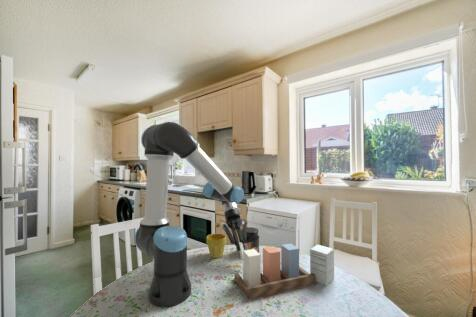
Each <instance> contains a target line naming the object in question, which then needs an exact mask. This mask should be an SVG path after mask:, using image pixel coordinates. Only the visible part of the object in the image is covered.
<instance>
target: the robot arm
mask: <svg viewBox="0 0 476 317" xmlns="http://www.w3.org/2000/svg"><path fill="white" fill-rule="evenodd" d="M140 140H141V144H142V145H141V146H142V147H143V149H144V154H143V155H144V156H145V158H146V159H147V170H146V171H147V173H146V186H145V187H146V189H145V198H144V199H145V201H144V202H145V204H144V217H143V218H142V219H141V220H140V221H139V227H138V228H137V230H136V231H135V234H134V244H135V245H136V247H137V249H138V250H139V251H141V253H143V254H145V255H147V256H148V257H149V258H151V259H152V260H153V276H152V278H151V283H150V286H149V287H148V288H149V289H148V301H149V303H150V304H152V305H153V306H155V307H161V308H164V307H167V308H168V307H173V306H176V305H179V304H181V303H183V302H184V301H186V300H187V299H188V298H189V296H191V293H192V282H191V279H190V276H189V274H188V270H187V265H188V263H187V262H188V261H187V260H188V256H187V255H188V254H187V252H188V248H187V247H188V234H187V232H186V231H185V229H183V227H180V226H173V225H170V224H171V223H170V222H171V221H170V219H169V218H168V217H167V208H168V207H167V206H168V193H169V192H168V191H169V189H168V188H169V177H170V175H169V173H170V161H171V160H172V159H173V158H174V154H176V155H177V156H178V157H179V158H180V159H183V160H186V161H187V162H188V164H190V165H191V166H192V167H193V169H195V170H196V171H197V172H198V173H199V174H200V175H201V176H202V177H203V178H204V179H205V181H207V182H206V183H205V184H204V186H203V188H202V194H203V195H204V196H205V197H207V198H210V199H213V200H215V201H219V202H220V203H221V205H222V210H223V213H224V218H225V223H224V224H223V225H222V227H221V228H222V230H224V231H225V233H226V234H225V235H226V237H227V238H228V240H229V241H230V244H231V245H234V246H235V247H236V251H237V252H238V253H239V255H240V256H239V257H240V259H241V260H243V251H244V250H245V245H244V242H246V240H247V231H246V227H247V224H248V222H247V221H243V220H242V218H241V215H240V211H239V208H238V204H240V203H241V202H242V201H243V200H244V197H245V191H244V189H243V188H242V187H240V186H235V184H234V183H233V182H232V181H231V180H230V179H229V178H228V177H227V176H226V175H225V174H224V172H222V170H221V169H220V168H219V167H218V166H217V164H216V163H215V162H214V161H213V160H212V159H211V158H210V157H209V155H207V154H206V152H205V151H204V150H203V149H202V148H201V147H200V142H199V141H198V140H197V139H196V137H195V136H194V135H193V134H192V133H191V132H190V131H189V130H188V129H186V128H185V127H184V126H182V125H181V124H178V123H176V122H174V121H165V122H161V123H158V124H152V125H150V126H149V127H147V128H145V130H143V133H142V134H141V136H140ZM241 226H242V228H243V236H242V233H241V229H242V228H241Z"/></svg>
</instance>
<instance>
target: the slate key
mask: <svg viewBox="0 0 476 317" xmlns="http://www.w3.org/2000/svg"><path fill="white" fill-rule="evenodd" d="M280 248H281V249H280V250H281V251H280V270H281V271H282V272H283V273H285V274H286V275H287V276H288V277H289V278H293V277H298V276H300V274H299V266H300V248H299V247H297V246H296V245H294V244H293V243H286V244H281V246H280Z"/></svg>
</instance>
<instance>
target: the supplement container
mask: <svg viewBox="0 0 476 317" xmlns="http://www.w3.org/2000/svg"><path fill="white" fill-rule="evenodd" d="M240 229H241V233H242V236H243V227H242V228H240ZM246 231H247V240H246V242H244V245H245V250H251V249H255V250H256V251H257V252H258V253H259V252H260V235H259V228H256V227H253V226H252V227H250V226H249V227H247V226H246ZM259 254H260V253H259Z"/></svg>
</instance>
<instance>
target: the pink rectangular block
mask: <svg viewBox="0 0 476 317" xmlns="http://www.w3.org/2000/svg"><path fill="white" fill-rule="evenodd" d="M280 270H281V251H280V250H279V249H278V248H276V247H275V246H274V245H272V246H266V247H265V246H264V247H262V275H263V276H264V277H265V278H266V279H267V280H268V281H269V282H274V281H279V280H282V278H280Z"/></svg>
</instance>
